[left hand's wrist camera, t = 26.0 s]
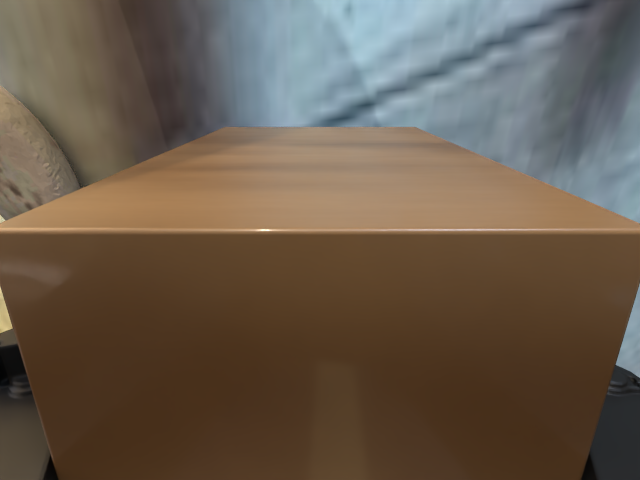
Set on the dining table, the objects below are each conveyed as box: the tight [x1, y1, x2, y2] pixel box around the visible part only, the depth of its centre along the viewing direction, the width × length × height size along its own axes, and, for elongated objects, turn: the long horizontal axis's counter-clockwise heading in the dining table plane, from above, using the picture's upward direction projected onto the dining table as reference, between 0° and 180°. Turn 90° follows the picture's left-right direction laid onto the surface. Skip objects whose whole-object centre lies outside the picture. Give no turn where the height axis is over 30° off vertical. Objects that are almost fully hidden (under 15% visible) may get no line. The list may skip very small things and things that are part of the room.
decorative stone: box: [0, 86, 81, 220], centre depth 30 cm, size 6×16×3 cm, turn 23°
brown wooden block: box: [0, 127, 640, 480], centre depth 11 cm, size 9×7×11 cm
